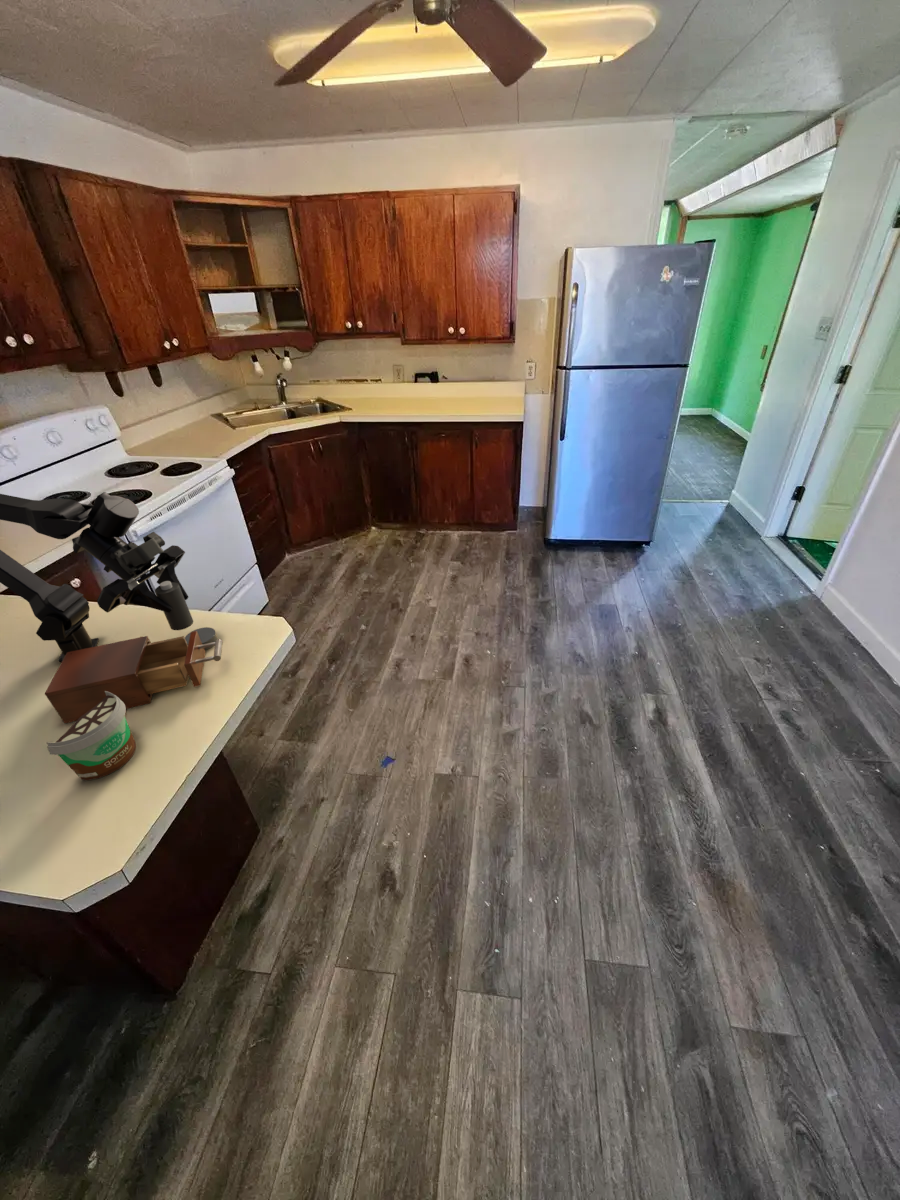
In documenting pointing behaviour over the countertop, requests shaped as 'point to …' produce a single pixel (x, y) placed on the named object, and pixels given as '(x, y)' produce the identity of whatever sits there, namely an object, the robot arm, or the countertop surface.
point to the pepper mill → (175, 605)
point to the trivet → (204, 636)
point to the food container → (97, 740)
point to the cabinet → (98, 678)
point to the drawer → (175, 662)
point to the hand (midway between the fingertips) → (179, 604)
